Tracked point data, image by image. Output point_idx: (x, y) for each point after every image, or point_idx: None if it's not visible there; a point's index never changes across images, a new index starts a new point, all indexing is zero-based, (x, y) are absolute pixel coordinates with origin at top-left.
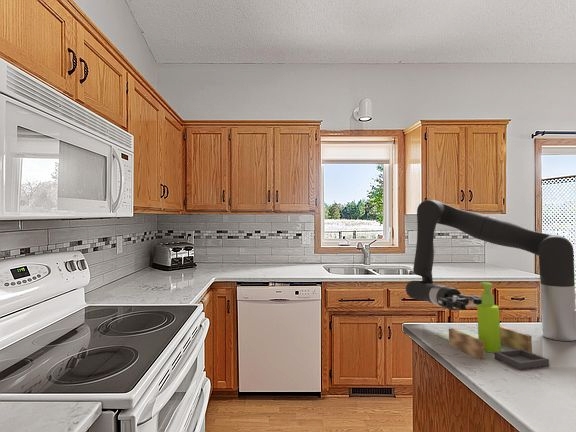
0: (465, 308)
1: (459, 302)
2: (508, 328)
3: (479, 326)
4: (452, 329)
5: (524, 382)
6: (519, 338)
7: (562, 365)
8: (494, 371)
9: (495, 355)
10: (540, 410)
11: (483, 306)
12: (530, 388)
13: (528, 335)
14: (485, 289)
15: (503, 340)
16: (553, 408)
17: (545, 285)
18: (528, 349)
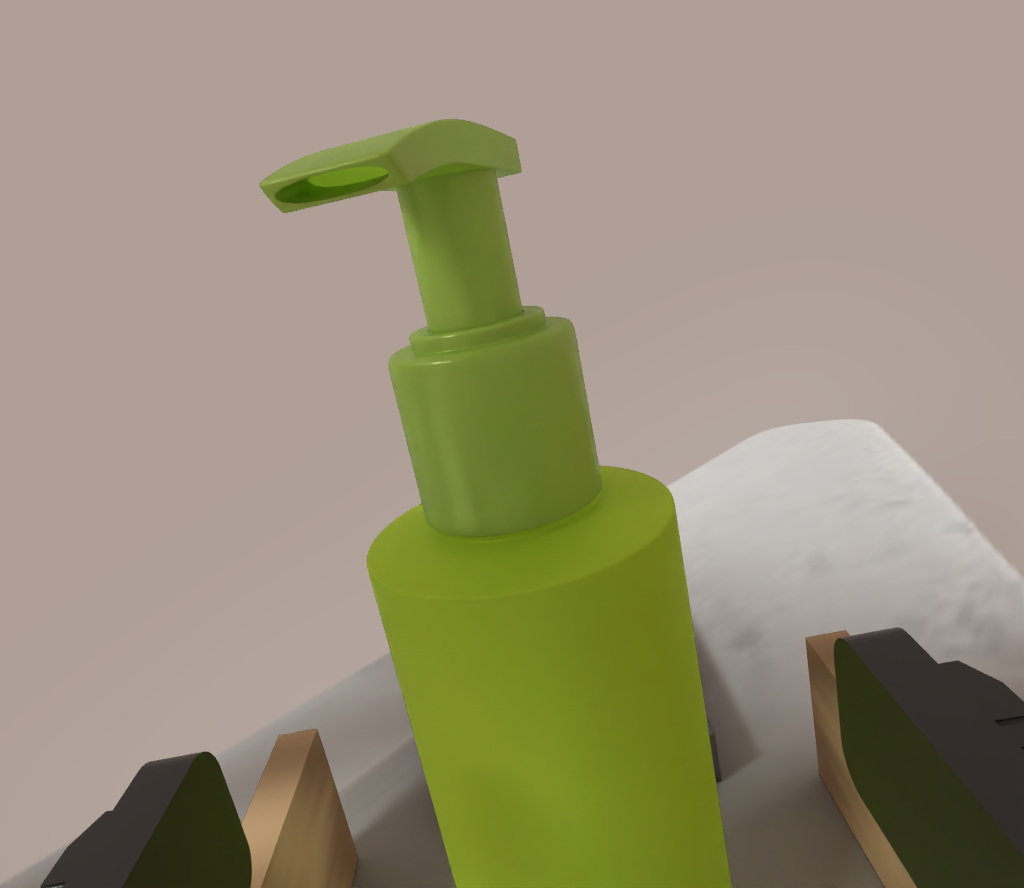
0: (847, 731)
1: (988, 724)
2: None
3: (713, 771)
4: None
5: (735, 552)
6: (304, 850)
7: (379, 684)
8: (831, 621)
9: (715, 748)
10: (799, 454)
11: (628, 474)
12: (743, 524)
13: (287, 746)
14: (507, 242)
15: None
16: (751, 463)
17: None
18: (348, 830)
